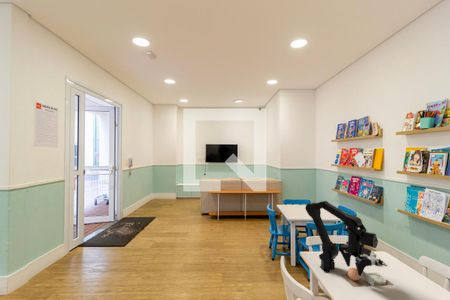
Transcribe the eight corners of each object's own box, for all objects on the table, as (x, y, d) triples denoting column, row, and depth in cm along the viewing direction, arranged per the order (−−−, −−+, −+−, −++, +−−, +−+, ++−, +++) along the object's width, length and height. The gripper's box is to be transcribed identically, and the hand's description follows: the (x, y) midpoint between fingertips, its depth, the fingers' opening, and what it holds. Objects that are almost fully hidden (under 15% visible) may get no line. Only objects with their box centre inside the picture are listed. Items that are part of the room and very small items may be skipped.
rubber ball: (352, 283, 117) (352, 271, 117) (345, 276, 123) (345, 265, 123) (363, 282, 117) (363, 271, 117) (355, 276, 123) (355, 265, 123)
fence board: (353, 288, 113) (353, 279, 114) (339, 275, 125) (339, 267, 125) (394, 286, 115) (394, 278, 115) (376, 274, 127) (376, 266, 127)
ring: (373, 284, 116) (373, 282, 116) (361, 274, 125) (361, 272, 125) (390, 283, 117) (390, 281, 117) (377, 273, 126) (377, 272, 126)
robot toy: (387, 269, 135) (371, 255, 150) (387, 261, 135) (371, 249, 150) (366, 268, 136) (352, 255, 151) (366, 261, 135) (353, 248, 150)
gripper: (381, 248, 112) (381, 280, 111) (356, 234, 130) (356, 261, 130) (360, 248, 111) (360, 280, 110) (338, 235, 129) (338, 262, 129)
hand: (353, 270), depth 120 cm, fingers open, 9 cm apart
